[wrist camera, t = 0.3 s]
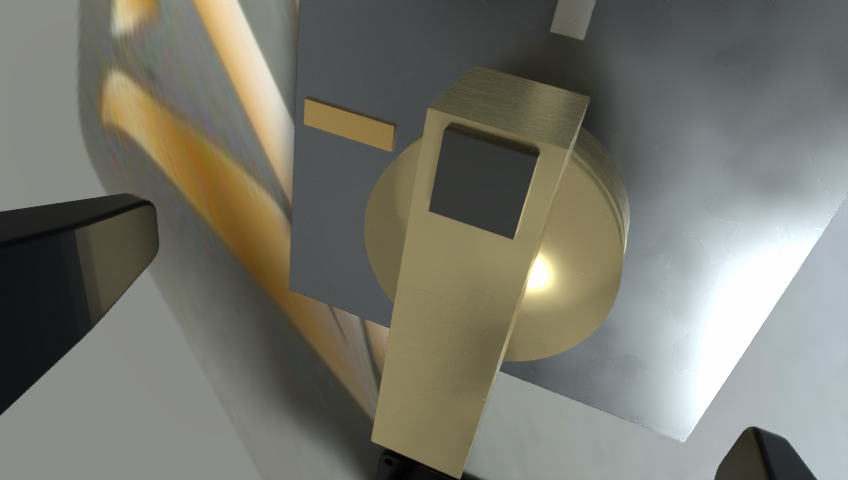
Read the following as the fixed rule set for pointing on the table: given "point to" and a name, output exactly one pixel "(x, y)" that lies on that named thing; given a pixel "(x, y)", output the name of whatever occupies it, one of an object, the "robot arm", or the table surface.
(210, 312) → the table surface
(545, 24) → the lock base
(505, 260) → the brass lock knob
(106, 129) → the table surface
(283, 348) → the table surface
